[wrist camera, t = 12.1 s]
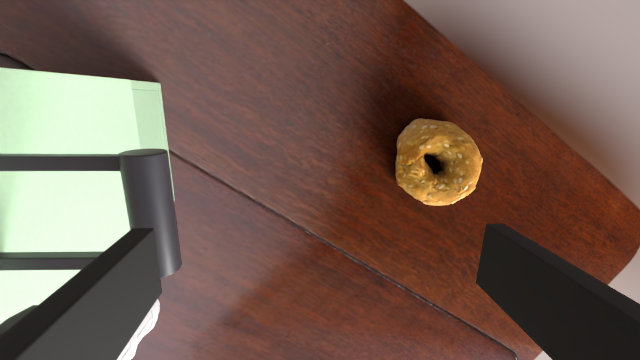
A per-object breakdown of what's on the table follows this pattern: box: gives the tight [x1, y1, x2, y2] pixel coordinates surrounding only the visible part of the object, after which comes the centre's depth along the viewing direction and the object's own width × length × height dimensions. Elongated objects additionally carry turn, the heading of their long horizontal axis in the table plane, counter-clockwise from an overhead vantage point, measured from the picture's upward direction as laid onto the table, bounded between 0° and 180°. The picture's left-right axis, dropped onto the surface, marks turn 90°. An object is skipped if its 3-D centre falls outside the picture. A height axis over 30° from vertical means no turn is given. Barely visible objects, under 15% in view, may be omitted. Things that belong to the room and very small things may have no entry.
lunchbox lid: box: [0, 67, 182, 324], centre depth 21 cm, size 16×14×10 cm
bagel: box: [396, 118, 483, 205], centre depth 36 cm, size 10×11×5 cm
